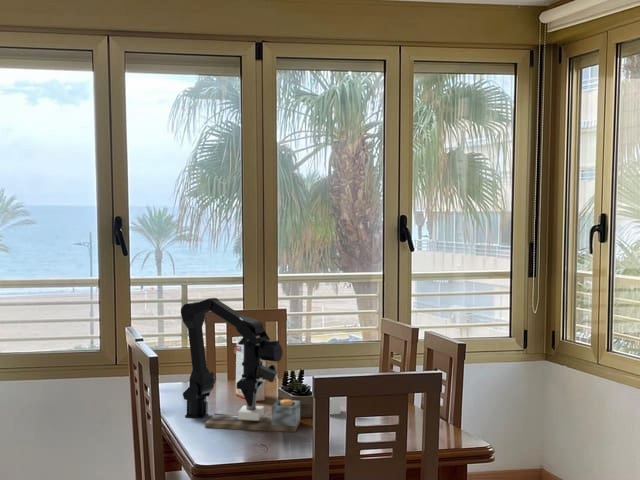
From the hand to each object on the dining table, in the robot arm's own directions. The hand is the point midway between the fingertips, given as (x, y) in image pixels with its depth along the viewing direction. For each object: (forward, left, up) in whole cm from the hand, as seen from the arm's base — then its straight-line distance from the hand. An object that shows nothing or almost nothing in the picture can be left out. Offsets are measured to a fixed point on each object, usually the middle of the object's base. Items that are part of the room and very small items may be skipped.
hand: (251, 405), depth 236 cm
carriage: (0, 0, -4) cm, 4 cm away
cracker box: (-8, +37, -7) cm, 39 cm away
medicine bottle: (+24, +20, -7) cm, 32 cm away
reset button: (+12, 0, -1) cm, 12 cm away
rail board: (+1, 0, -7) cm, 7 cm away
